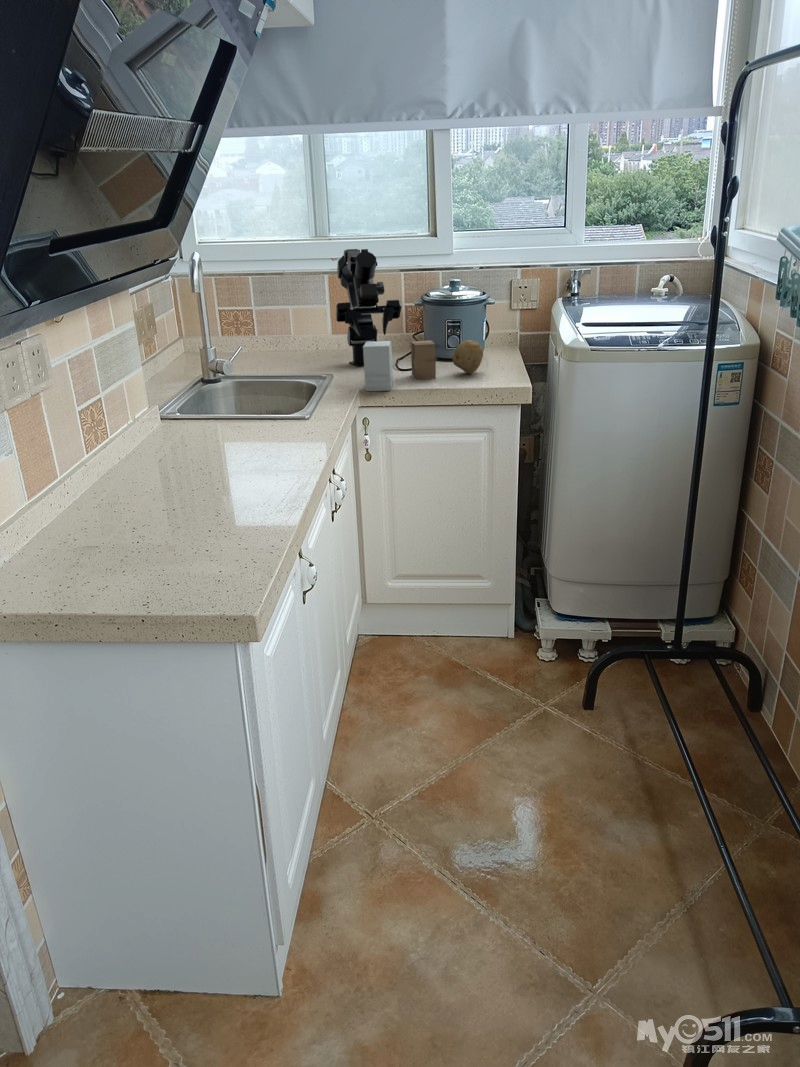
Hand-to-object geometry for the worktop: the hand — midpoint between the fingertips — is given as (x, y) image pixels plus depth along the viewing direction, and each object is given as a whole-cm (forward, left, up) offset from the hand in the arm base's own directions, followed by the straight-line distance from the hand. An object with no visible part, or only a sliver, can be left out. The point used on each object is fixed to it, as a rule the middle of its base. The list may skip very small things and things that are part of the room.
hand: (372, 334), depth 240 cm
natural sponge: (+12, +26, -13) cm, 31 cm away
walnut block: (+6, +14, -13) cm, 20 cm away
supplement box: (+9, -4, -13) cm, 17 cm away
